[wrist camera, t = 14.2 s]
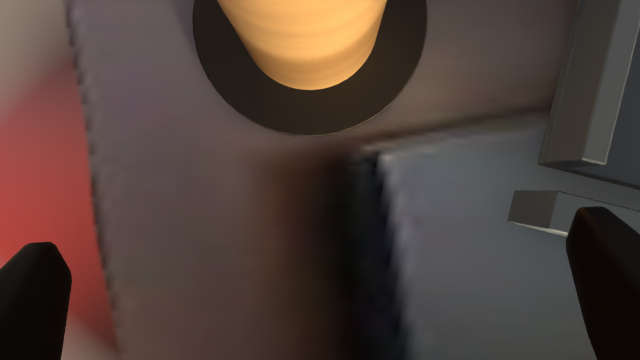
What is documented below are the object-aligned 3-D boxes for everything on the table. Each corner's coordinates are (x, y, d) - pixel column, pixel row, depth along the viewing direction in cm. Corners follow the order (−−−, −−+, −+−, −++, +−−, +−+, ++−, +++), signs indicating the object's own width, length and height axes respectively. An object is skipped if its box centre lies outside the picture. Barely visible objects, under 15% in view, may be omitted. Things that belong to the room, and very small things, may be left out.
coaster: (408, 152, 23) (410, 151, 22) (179, 120, 23) (176, 118, 22) (440, -78, 23) (442, -82, 22) (212, -108, 23) (210, -113, 22)
